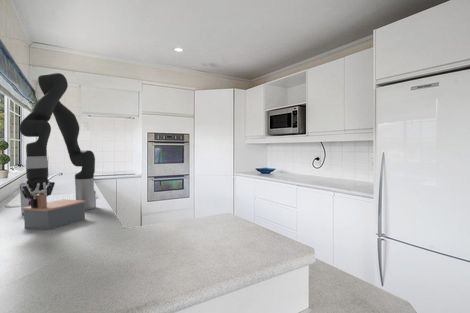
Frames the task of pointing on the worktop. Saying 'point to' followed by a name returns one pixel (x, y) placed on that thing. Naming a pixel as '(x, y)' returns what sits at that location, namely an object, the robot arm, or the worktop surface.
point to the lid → (52, 204)
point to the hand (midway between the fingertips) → (38, 206)
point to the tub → (54, 217)
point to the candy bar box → (24, 199)
